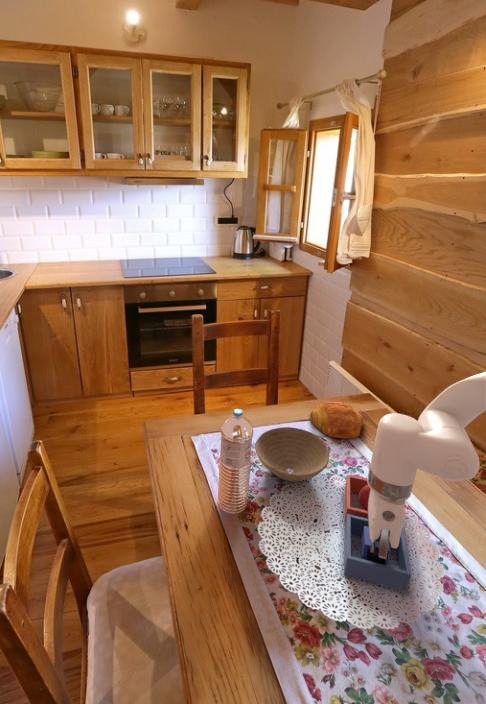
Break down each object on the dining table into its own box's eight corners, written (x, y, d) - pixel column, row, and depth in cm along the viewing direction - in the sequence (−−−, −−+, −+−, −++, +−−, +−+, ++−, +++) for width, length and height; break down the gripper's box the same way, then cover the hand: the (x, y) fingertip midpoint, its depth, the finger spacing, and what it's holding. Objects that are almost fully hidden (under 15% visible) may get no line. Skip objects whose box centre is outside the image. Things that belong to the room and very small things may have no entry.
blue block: (384, 548, 81) (388, 531, 80) (386, 568, 77) (390, 550, 76) (360, 542, 82) (364, 525, 81) (361, 561, 78) (365, 544, 77)
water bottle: (232, 490, 97) (237, 398, 89) (253, 506, 93) (261, 411, 84) (211, 504, 93) (214, 410, 84) (233, 522, 88) (239, 424, 80)
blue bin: (398, 546, 84) (403, 527, 82) (405, 595, 74) (411, 575, 72) (343, 532, 87) (347, 513, 85) (343, 577, 77) (347, 557, 75)
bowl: (238, 473, 103) (239, 446, 100) (279, 441, 116) (282, 417, 113) (301, 513, 91) (304, 485, 88) (339, 473, 104) (343, 447, 101)
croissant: (309, 417, 131) (308, 395, 129) (359, 417, 129) (359, 394, 126) (313, 444, 118) (312, 420, 115) (369, 444, 115) (369, 419, 113)
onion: (387, 523, 89) (394, 494, 86) (361, 522, 89) (367, 493, 86) (378, 502, 94) (384, 474, 91) (353, 501, 94) (358, 473, 91)
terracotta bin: (392, 502, 95) (396, 485, 93) (398, 540, 85) (402, 521, 84) (344, 491, 98) (347, 474, 96) (343, 526, 88) (347, 508, 86)
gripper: (420, 520, 65) (398, 601, 71) (406, 455, 80) (389, 526, 86) (370, 508, 67) (354, 588, 73) (366, 447, 82) (352, 517, 88)
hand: (373, 553), depth 80 cm, fingers closed on blue block, 4 cm apart
